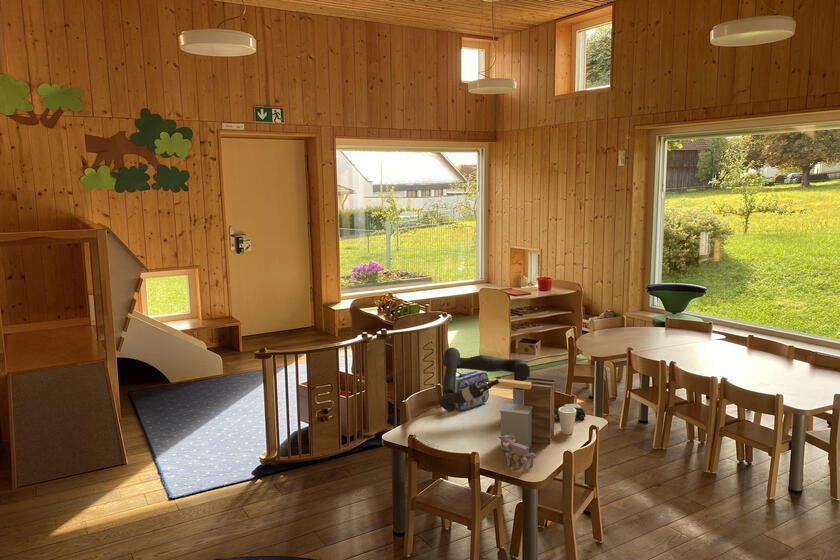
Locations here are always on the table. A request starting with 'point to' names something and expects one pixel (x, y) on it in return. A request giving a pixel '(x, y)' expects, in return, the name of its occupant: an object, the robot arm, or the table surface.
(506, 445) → the toy sheep
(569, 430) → the foam cup
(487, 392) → the lunch box
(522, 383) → the slat
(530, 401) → the cabinet
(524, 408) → the grey upright carton
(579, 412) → the miniature car
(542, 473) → the table surface
